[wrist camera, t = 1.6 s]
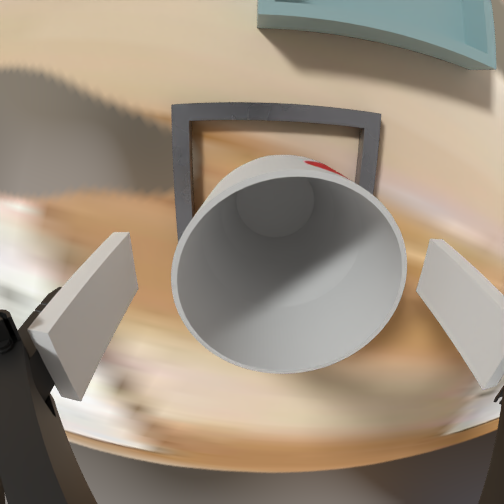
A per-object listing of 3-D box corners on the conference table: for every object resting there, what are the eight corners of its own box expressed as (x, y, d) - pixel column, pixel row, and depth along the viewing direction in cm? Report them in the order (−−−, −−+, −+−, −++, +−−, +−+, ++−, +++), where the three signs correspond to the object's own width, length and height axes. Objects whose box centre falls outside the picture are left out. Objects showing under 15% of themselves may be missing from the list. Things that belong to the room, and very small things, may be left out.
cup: (357, 225, 20) (424, 320, 11) (249, 278, 22) (247, 395, 13) (303, 112, 17) (358, 122, 8) (184, 177, 19) (123, 250, 10)
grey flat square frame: (174, 104, 16) (171, 104, 16) (376, 113, 17) (381, 113, 16) (184, 282, 22) (182, 288, 21) (352, 284, 22) (355, 290, 21)
